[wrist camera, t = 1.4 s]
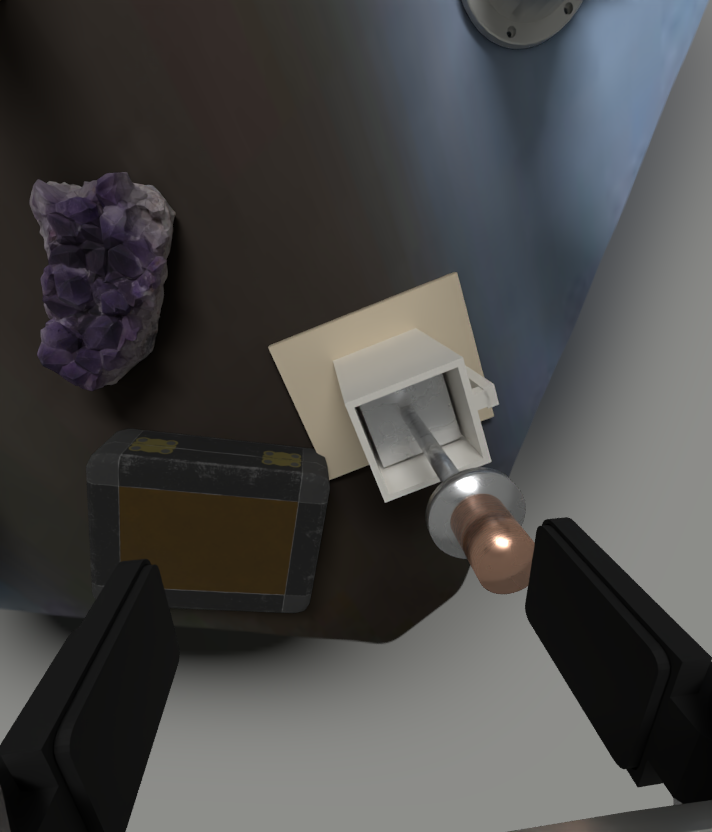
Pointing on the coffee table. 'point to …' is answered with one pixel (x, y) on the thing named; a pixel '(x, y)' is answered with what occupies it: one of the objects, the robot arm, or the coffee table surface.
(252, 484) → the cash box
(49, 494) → the coffee table surface
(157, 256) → the geode
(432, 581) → the coffee table surface
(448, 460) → the plunger
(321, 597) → the coffee table surface
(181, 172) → the coffee table surface
